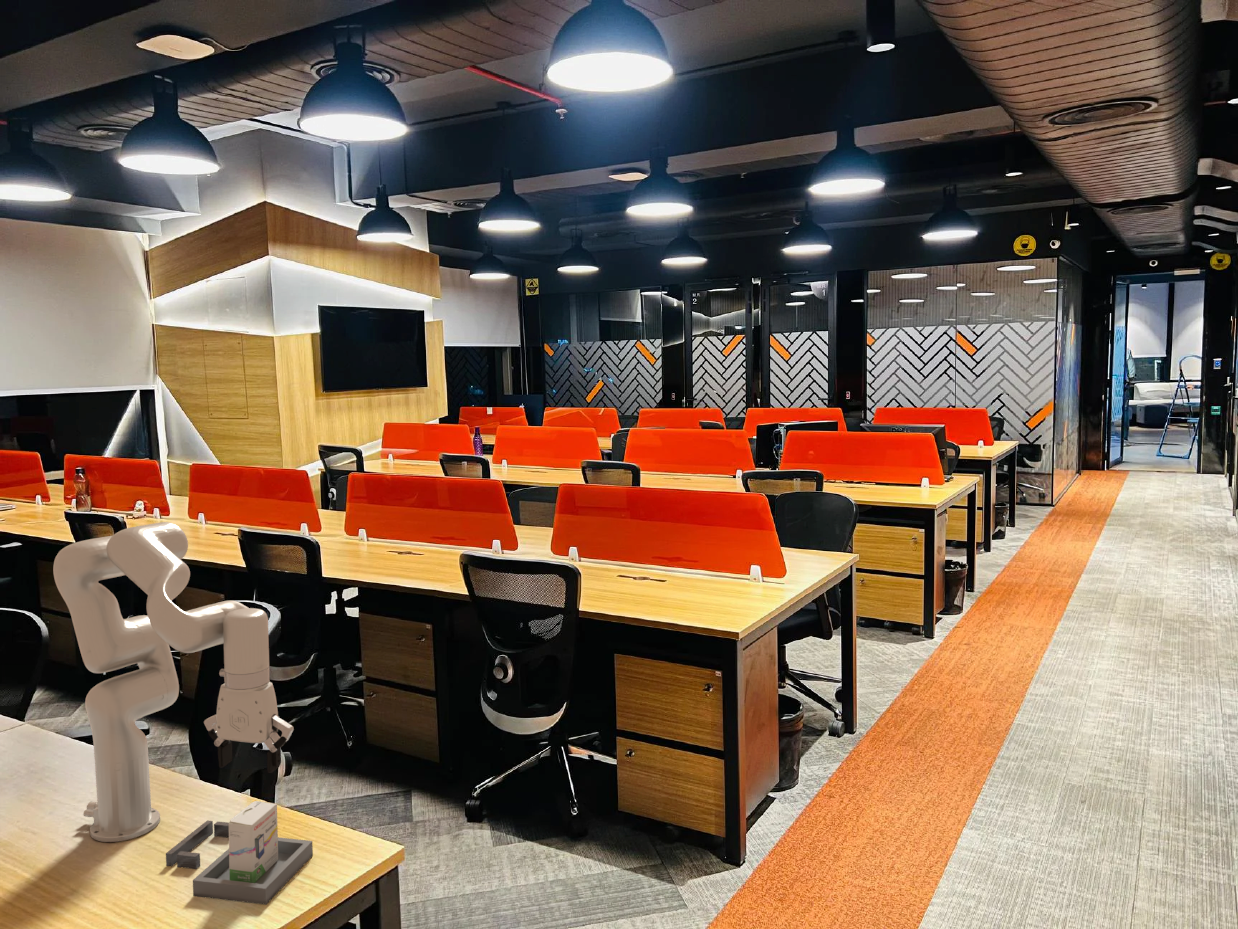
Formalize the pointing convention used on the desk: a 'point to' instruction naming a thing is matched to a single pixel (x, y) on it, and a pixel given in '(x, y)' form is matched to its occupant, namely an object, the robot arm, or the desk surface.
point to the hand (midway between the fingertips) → (249, 767)
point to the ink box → (253, 841)
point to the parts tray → (266, 887)
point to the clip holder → (194, 845)
